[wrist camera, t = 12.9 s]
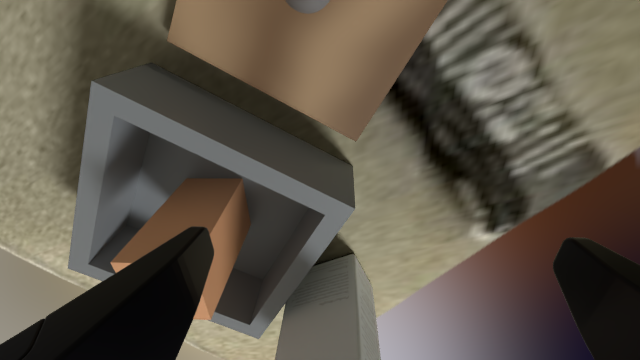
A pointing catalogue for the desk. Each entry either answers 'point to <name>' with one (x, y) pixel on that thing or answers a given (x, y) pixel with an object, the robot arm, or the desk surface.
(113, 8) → the desk surface
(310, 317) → the skincare box
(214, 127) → the bin
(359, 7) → the stud base
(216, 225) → the tan wooden brick
